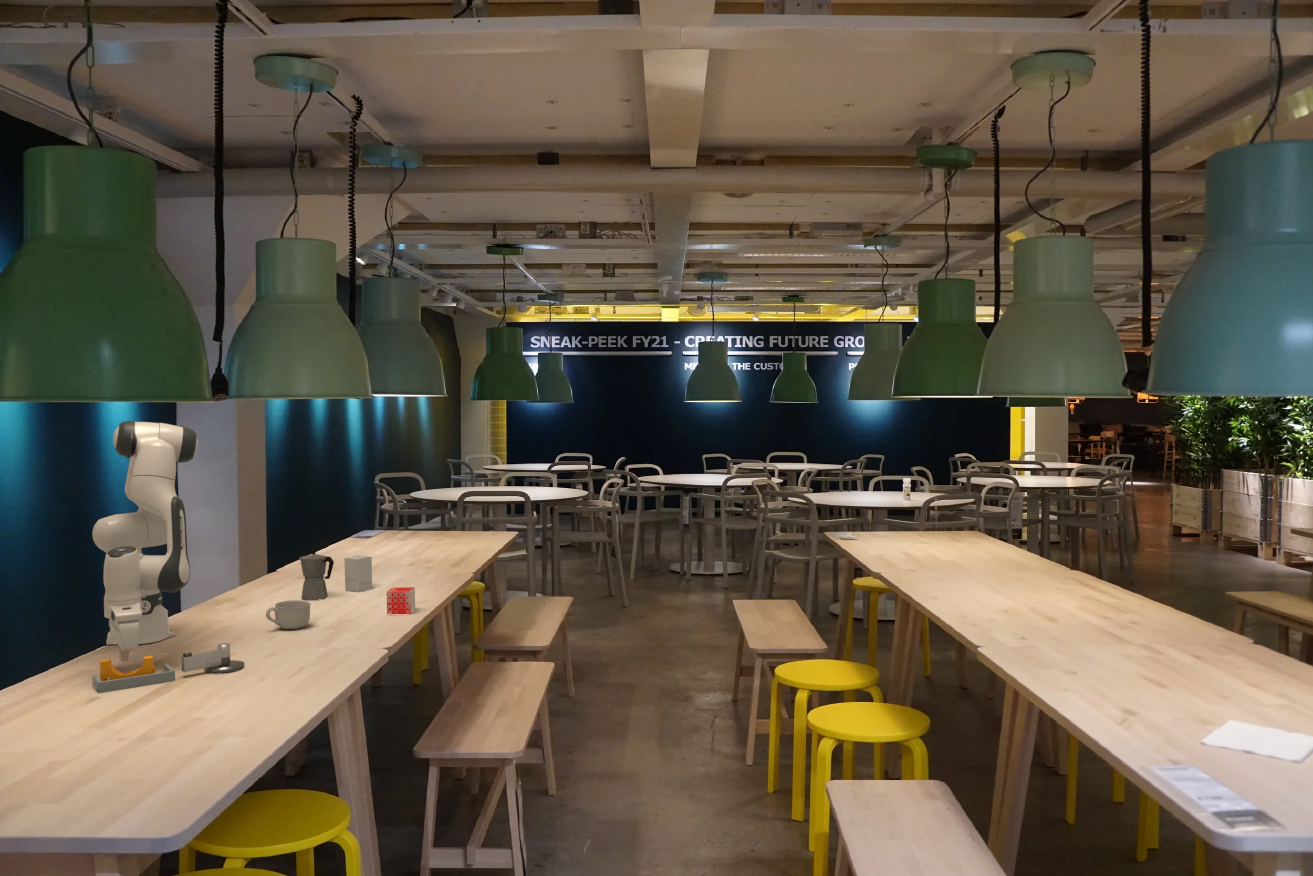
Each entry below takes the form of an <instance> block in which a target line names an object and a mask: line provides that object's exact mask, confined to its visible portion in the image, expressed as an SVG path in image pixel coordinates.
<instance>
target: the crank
mask: <svg viewBox="0 0 1313 876" xmlns="http://www.w3.org/2000/svg"><path fill="white" fill-rule="evenodd" d="M180 659H181V660H180V661H181V665H180V666H181V672H184V673H187V672H192V671H196V670H203V669H204V668H208V667H213V666H218V665H219V666H226V665H230V660H231V643H227V642H226V643H225V642H224V643H218V644H217V649H213V650H207V651H203V652H198V653H192V652H184V653H182V656H181V657H180Z"/></svg>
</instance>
